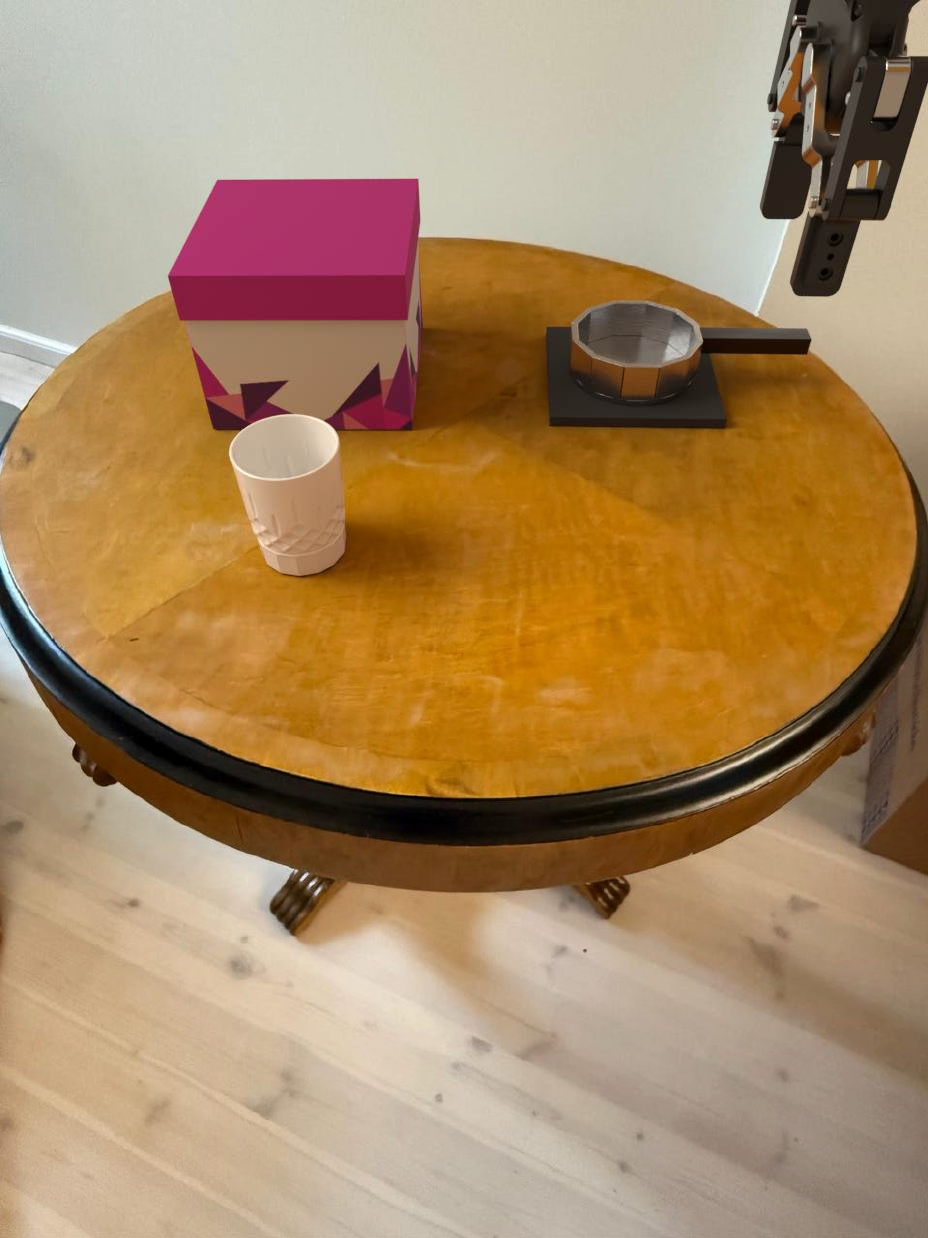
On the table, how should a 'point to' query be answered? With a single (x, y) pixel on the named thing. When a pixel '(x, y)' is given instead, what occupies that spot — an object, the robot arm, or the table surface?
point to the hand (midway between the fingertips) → (794, 251)
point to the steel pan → (657, 350)
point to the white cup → (292, 491)
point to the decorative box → (305, 300)
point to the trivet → (583, 409)
